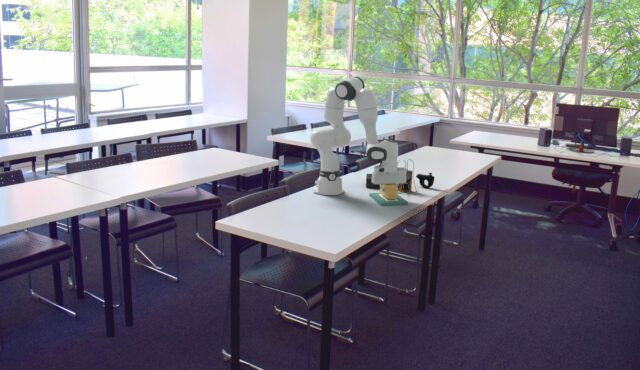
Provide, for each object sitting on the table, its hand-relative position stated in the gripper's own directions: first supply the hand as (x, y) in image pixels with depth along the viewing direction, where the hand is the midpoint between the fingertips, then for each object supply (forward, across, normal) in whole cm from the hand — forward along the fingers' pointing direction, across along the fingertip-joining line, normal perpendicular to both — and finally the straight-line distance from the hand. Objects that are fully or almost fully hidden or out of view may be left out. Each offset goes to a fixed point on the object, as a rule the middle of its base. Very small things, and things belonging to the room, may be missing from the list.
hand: (388, 191), depth 331 cm
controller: (+6, -33, -25) cm, 42 cm away
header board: (+5, 0, 0) cm, 5 cm away
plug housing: (+3, 0, 0) cm, 3 cm away
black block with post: (+6, -7, -34) cm, 35 cm away
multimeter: (+6, -17, -14) cm, 23 cm away
